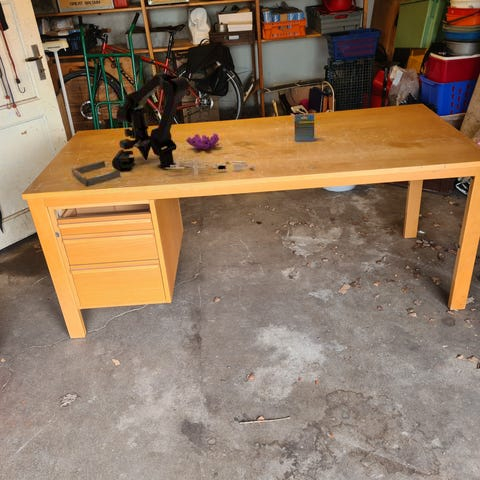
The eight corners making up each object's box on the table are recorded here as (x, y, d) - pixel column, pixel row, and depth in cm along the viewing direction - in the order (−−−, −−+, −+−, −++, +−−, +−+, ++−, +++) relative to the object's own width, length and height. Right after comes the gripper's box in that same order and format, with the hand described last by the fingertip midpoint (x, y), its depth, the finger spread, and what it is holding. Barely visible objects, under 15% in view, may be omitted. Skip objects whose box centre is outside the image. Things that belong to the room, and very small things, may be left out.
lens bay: (120, 176, 186) (119, 170, 185) (87, 186, 179) (85, 179, 178) (104, 166, 198) (103, 160, 197) (72, 175, 191) (71, 168, 190)
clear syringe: (165, 176, 181) (167, 170, 193) (253, 174, 183) (251, 168, 194) (164, 160, 179) (166, 154, 190) (253, 158, 181) (251, 153, 192)
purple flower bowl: (219, 156, 210) (216, 144, 201) (187, 157, 211) (182, 145, 203) (221, 135, 214) (218, 123, 205) (189, 136, 216) (185, 124, 207)
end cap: (119, 164, 199) (116, 149, 196) (135, 163, 199) (132, 148, 196) (113, 173, 191) (110, 157, 187) (130, 171, 190) (127, 156, 187)
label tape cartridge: (314, 138, 212) (314, 111, 206) (314, 141, 209) (314, 114, 203) (294, 139, 213) (294, 112, 207) (294, 142, 210) (294, 115, 204)
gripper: (150, 115, 202) (156, 150, 210) (110, 125, 193) (118, 160, 200) (162, 120, 194) (168, 155, 202) (121, 130, 185) (128, 167, 192)
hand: (145, 159), depth 199 cm, fingers closed
